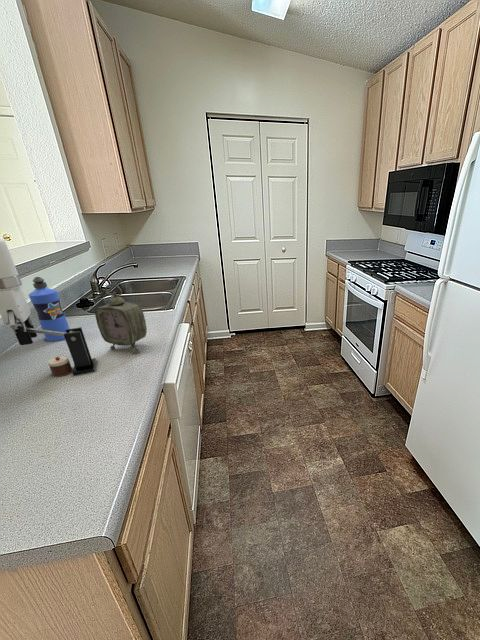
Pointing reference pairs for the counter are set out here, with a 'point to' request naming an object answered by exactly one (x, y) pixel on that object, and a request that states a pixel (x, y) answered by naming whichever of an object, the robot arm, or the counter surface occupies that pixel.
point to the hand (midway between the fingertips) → (28, 340)
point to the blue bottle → (48, 309)
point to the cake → (60, 366)
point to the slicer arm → (45, 331)
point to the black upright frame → (79, 351)
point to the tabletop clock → (121, 321)
